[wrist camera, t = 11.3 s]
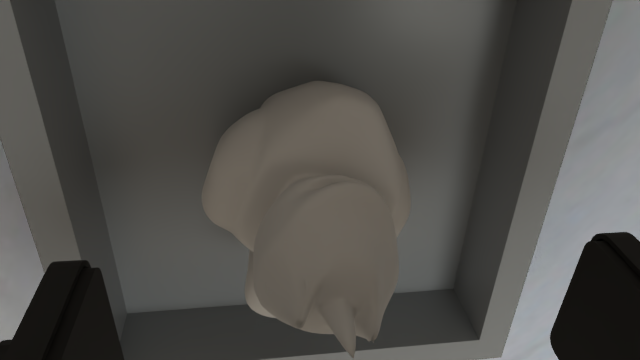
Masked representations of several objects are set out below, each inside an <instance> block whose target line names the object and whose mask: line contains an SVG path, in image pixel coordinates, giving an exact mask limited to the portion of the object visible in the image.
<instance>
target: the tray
mask: <svg viewBox="0 0 640 360" xmlns="http://www.w3.org/2000/svg"><path fill="white" fill-rule="evenodd" d="M612 1H613V0H0V138H1V142H2V145H3V148H4V151H5V154H6V157H7V160H8V163H9V166H10V169H11V172H12V175H13V178H14V181H15V184H16V187H17V190H18V193H19V196H20V199H21V202H22V205H23V208H24V212H25V215H26V218H27V221H28V224H29V227H30V230H31V233H32V236H33V239H34V242H35V245H36V248H37V251H38V254H39V257H40V260H41V263H42V266H43V269H44V272H46V270H47V268H48V266H49V265H50V263H52V262H55V261H74V260H87V261H88V262H89V263H90V266H91V268H96V267H98V268H100V270H101V272H102V276H103V279H104V283H105V287H106V291H107V295H108V299H109V302H110V306H111V310H112V314H113V318H114V322H115V326H116V329H117V333H118V337H119V341H120V345H121V349H122V352H123V356H124V360H477V359H487V358H498V357H501V356H502V353H503V350H504V346H505V343H506V340H507V337H508V334H509V330H510V327H511V324H512V321H513V318H514V314H515V311H516V308H517V305H518V302H519V298H520V295H521V292H522V289H523V286H524V282H525V279H526V276H527V273H528V270H529V266H530V263H531V260H532V257H533V254H534V250H535V247H536V244H537V241H538V238H539V234H540V231H541V228H542V225H543V222H544V218H545V215H546V212H547V209H548V206H549V202H550V199H551V196H552V193H553V190H554V186H555V183H556V180H557V177H558V174H559V170H560V167H561V164H562V161H563V158H564V154H565V151H566V148H567V145H568V142H569V138H570V135H571V132H572V129H573V126H574V122H575V119H576V116H577V113H578V110H579V106H580V103H581V100H582V97H583V94H584V90H585V87H586V84H587V81H588V78H589V74H590V71H591V68H592V65H593V62H594V58H595V55H596V52H597V49H598V46H599V42H600V39H601V36H602V33H603V30H604V26H605V23H606V20H607V17H608V14H609V10H610V7H611V4H612ZM311 81H325V82H332V83H339V84H343V85H346V86H349V87H352V88H355V89H358V90H360V91H363V92H365V93H366V94H368V95H369V96H370V97H371V98H372V99H373V100H374V101H376V103H377V104H378V105H379V107H380V109H381V111H382V113H383V116H384V118H385V120H386V123H387V125H388V128H389V130H390V133H391V135H392V137H393V140H394V142H395V145H396V148H397V151H398V154H399V156H400V157H401V159H402V160H403V162H404V165H405V168H406V172H407V175H408V180H409V187H410V198H411V207H410V213H409V216H408V219H407V221H406V223H405V225H404V226H403V228H402V230H401V232H400V233H399V235H398V237H397V238H396V239H397V248H398V259H399V274H398V281H397V284H396V287H395V290H394V292H393V295H392V297H391V299H390V301H389V303H388V305H387V307H386V309H385V312H384V315H383V318H382V322H381V326H380V330H379V333H378V336H377V339H375V340H374V343H373V341H368V340H367V339H365V338H362V337H359V336H356V348H355V354H354V359H353V358H352V357H351V356H350V354H349V353H348V352H347V351H346V350H345V349H344V347H343V346H342V345H341V343H340V342H339V340H338V339H337V338H336V336H335V335H334V334H319V333H311V332H307V331H303V330H301V329H300V330H299V329H297V328H295V327H292V326H290V325H288V324H286V323H284V322H282V321H280V320H278V319H277V318H271V317H267V316H263V315H260V314H258V313H256V312H255V311H253V310H252V309H251V308H250V307H249V305H248V304H247V302H246V299H245V282H246V276H247V270H248V262H249V249H248V248H247V247H246V246H245V245H243V244H242V243H241V242H240V241H239V240H238V239H237V238H236V237H235V236H234V235H233V234H232V233H231V232H229V231H228V230H226V229H224V228H222V227H220V226H218V225H216V224H215V223H213V222H212V221H211V220H210V219H209V218H208V216H207V215H206V213H205V211H204V209H203V205H202V190H203V186H204V182H205V179H206V176H207V173H208V170H209V167H210V164H211V161H212V158H213V156H214V153H215V150H216V147H217V144H218V142H219V140H220V138H221V137H222V135H223V134H224V133H225V131H226V130H227V129H228V128H229V127H230V126H231V125H232V124H234V123H235V122H236V121H238V120H239V119H240V118H242V117H243V116H245V115H246V114H248V113H250V112H252V111H254V110H257V109H260V108H261V106H262V104H263V103H264V102H265V101H266V100H267V99H268V98H269V97H271V96H272V95H274V94H276V93H278V92H281V91H283V90H286V89H289V88H292V87H295V86H298V85H302V84H305V83H308V82H311Z"/></svg>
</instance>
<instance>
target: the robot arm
mask: <svg viewBox="0 0 640 360" xmlns="http://www.w3.org/2000/svg"><path fill="white" fill-rule="evenodd" d="M550 340H551V345H552V348H553V350H554V352H555V354H556V356H557V357H558V359H559V360H640V242H639V241H638V240H637V239H636V238H635V237H634V236H633V235H632V234H630V233H627V232H619V233H601V234H596V235H595V236H594V237H593V238H592V240H591V241H590V242H588V243H586V245H585V246H584V249H583V251H582V254H581V256H580V259H579V261H578V264H577V267H576V269H575V272H574V274H573V277H572V279H571V282H570V285H569V287H568V290H567V292H566V295H565V297H564V300H563V303H562V305H561V308H560V310H559V313H558V315H557V318H556V321H555V323H554V326H553V328H552V331H551V335H550ZM0 360H124V356H123V352H122V349H121V345H120V341H119V337H118V333H117V329H116V326H115V322H114V318H113V314H112V310H111V306H110V302H109V299H108V295H107V291H106V287H105V283H104V279H103V276H102V272H101V270H100V268H98V267H96V268H91V266H90V263H89V262H88V261H87V260H74V261H55V262H52V263H50V265H49V266H48V268H47V270H46V272H45V274H44V276H43V278H42V280H41V282H40V284H39V286H38V288H37V290H36V292H35V294H34V297H33V299H32V301H31V303H30V305H29V307H28V309H27V311H26V313H25V315H24V317H23V319H22V321H21V323H20V325H19V327H18V329H17V331H16V333H15V335H14V337H13V339H12V340H5V341H2V342H0Z"/></svg>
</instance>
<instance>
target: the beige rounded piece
mask: <svg viewBox="0 0 640 360" xmlns="http://www.w3.org/2000/svg"><path fill="white" fill-rule="evenodd" d="M202 205H203V209H204V211H205V213H206V215H207V216H208V218H209V219H210V220H211V221H212V222H213V223H215V224H216V225H218V226H220V227H222V228H224V229H226V230H228V231H229V232H231V233H232V234H233V235H234V236H235V237H236V238H237V239H238V240H239V241H240V242H241V243H242V244H243V245H245V246H246V247H247V248H248V249H249V262H248V270H247V276H246V282H245V299H246V302H247V304H248V305H249V307H250V308H251V309H252V310H253V311H255V312H256V313H258V314H260V315H263V316H267V317H271V318H277V319H278V320H280V321H282V322H284V323H286V324H288V325H290V326H292V327H295V328H297V329H299V330H300V329H301V330H303V331H307V332H311V333H319V334H334V335H335V336H336V338H337V339H338V340H339V342H340V343H341V345H342V346H343V347H344V349H345V350H346V351H347V352H348V353H349V354H350V356H351V357H352V358H353V359H354V354H355V348H356V336H359V337H362V338H365V339H367V340H368V341H373V343H374V340H375V339H377V336H378V333H379V330H380V326H381V322H382V318H383V315H384V312H385V309H386V307H387V305H388V303H389V301H390V299H391V297H392V295H393V292H394V290H395V287H396V284H397V281H398V274H399V259H398V248H397V239H396V238H397V237H398V235H399V233H400V232H401V230H402V228H403V226H404V225H405V223H406V221H407V219H408V216H409V213H410V207H411V198H410V187H409V180H408V175H407V172H406V168H405V165H404V162H403V160H402V159H401V157H400V156H399V154H398V151H397V148H396V145H395V142H394V140H393V137H392V135H391V133H390V130H389V128H388V125H387V123H386V120H385V118H384V116H383V113H382V111H381V109H380V107H379V105H378V104H377V103H376V101H374V100H373V99H372V98H371V97H370V96H369V95H368V94H366V93H365V92H363V91H360V90H358V89H355V88H352V87H349V86H346V85H343V84H339V83H332V82H325V81H311V82H308V83H305V84H302V85H298V86H295V87H292V88H289V89H286V90H283V91H281V92H278V93H276V94H274V95H272V96H271V97H269V98H268V99H267V100H266V101H265V102H264V103H263V104H262V106H261V108H260V109H257V110H254V111H252V112H250V113H248V114H246V115H245V116H243V117H242V118H240V119H239V120H238V121H236V122H235V123H234V124H232V125H231V126H230V127H229V128H228V129H227V130H226V131H225V133H224V134H223V135H222V137H221V138H220V140H219V142H218V144H217V147H216V150H215V153H214V156H213V158H212V161H211V164H210V167H209V170H208V173H207V176H206V179H205V182H204V186H203V190H202Z"/></svg>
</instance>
